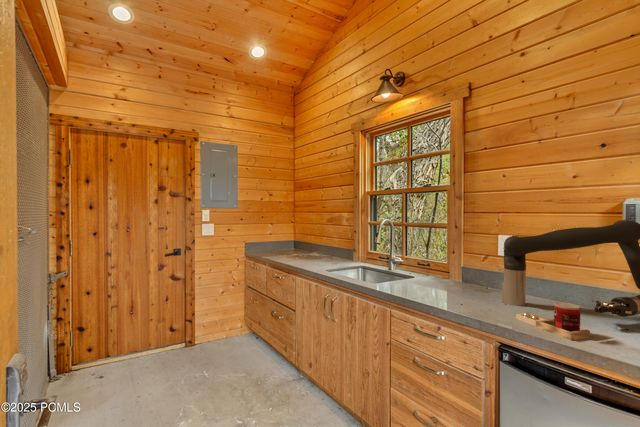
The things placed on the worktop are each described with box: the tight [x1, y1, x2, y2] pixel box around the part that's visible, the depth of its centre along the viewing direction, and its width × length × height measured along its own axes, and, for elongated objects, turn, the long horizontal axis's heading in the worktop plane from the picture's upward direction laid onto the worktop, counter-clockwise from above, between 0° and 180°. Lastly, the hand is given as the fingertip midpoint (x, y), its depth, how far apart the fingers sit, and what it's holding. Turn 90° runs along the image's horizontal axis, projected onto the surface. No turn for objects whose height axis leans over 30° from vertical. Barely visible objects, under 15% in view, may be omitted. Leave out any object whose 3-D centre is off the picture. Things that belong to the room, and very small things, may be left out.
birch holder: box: [535, 318, 591, 341], centre depth 124 cm, size 13×9×3 cm
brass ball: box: [531, 314, 540, 320], centre depth 134 cm, size 3×3×3 cm
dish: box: [515, 313, 547, 327], centre depth 136 cm, size 9×6×2 cm, turn 17°
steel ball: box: [523, 311, 532, 319], centre depth 138 cm, size 3×3×3 cm
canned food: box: [553, 301, 581, 332], centre depth 123 cm, size 8×8×11 cm
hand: (597, 309), depth 129 cm, fingers closed
